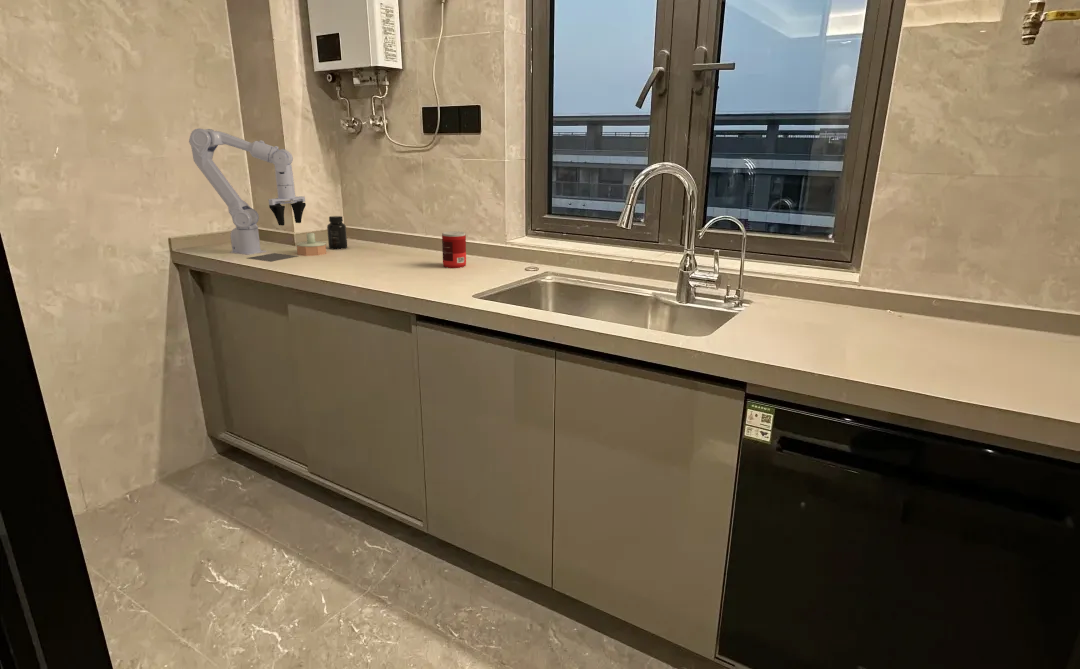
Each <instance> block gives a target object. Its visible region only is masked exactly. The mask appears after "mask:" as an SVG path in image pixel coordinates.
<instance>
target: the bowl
mask: <svg viewBox="0 0 1080 669" xmlns="http://www.w3.org/2000/svg"><path fill="white" fill-rule="evenodd" d="M296 249H297V252H296V253H297V256H304V257H308V256H320V255H321V256H322V255H325V254H327V244H326V245H323V246H315V247H302V246H297V245H296Z"/></svg>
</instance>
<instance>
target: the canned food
mask: <svg viewBox="0 0 1080 669" xmlns="http://www.w3.org/2000/svg"><path fill="white" fill-rule="evenodd" d="M466 239H467V237H466V232H464V231H444V232H442V233H441V242H442V243H441V244H442V246H441V248H442V265H443V267H444V268H446V267H448V268H447V269H461V268H460V267H462V268H465V267H466V265H467V240H466ZM464 266H465V267H464Z"/></svg>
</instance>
